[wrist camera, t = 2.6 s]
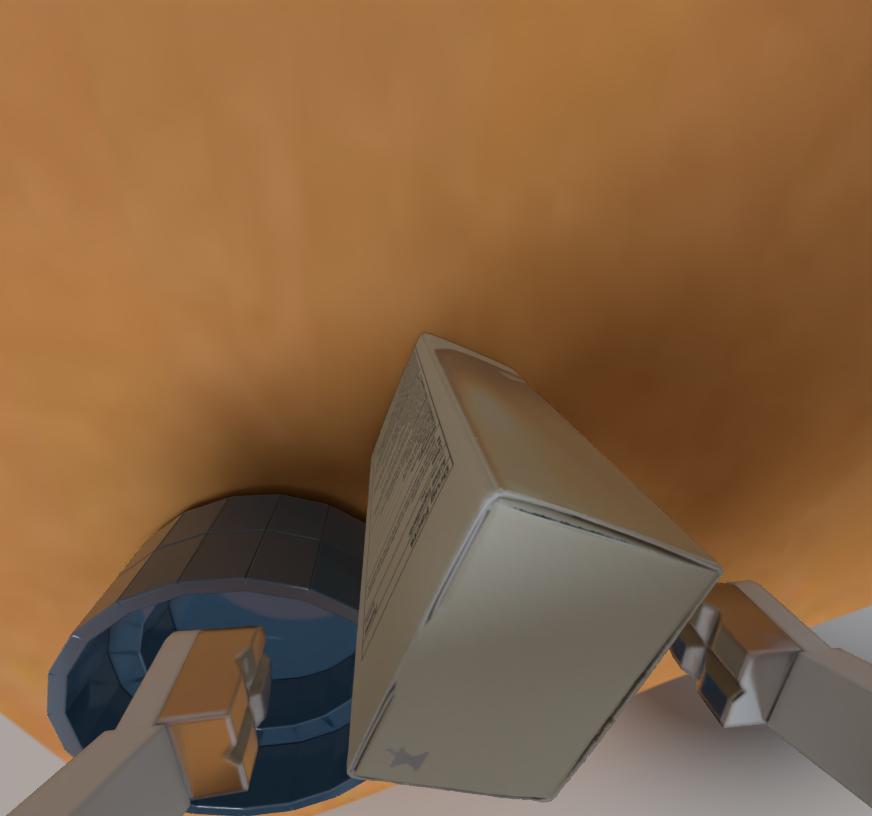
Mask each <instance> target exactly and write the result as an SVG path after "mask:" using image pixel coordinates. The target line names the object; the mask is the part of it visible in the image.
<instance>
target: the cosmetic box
mask: <svg viewBox="0 0 872 816" xmlns="http://www.w3.org/2000/svg"><path fill="white" fill-rule="evenodd" d="M723 572H724V571H723V568H722V567H721V566H720V565H719V564H718V563H717V562H716V561H715V560H714V559H713V558H712V557H711V556H710V555H709V554H708V553H707V552H706V551H705V550H704V549H703V548H702V547H701V546H699V545H698V544H697V543H696V542H695V541H694V540H693V539H692V538H691V537H690V536H689V535H688V534H686V533H685V532H684V531H683V530H682V529H681V528H680V527H679V526H678V525H677V524H676V523H675V522H674V521H673V520H672V519H671V518H670V517H669V516H667V515H666V514H665V513H664V512H663V511H662V510H661V509H660V508H659V507H658V506H657V505H656V504H655V503H654V502H653V501H651V500H650V499H649V498H648V497H647V496H646V495H645V494H644V493H643V492H642V491H641V490H640V489H639V488H638V487H637V486H636V485H635V484H634V483H633V482H632V481H631V480H630V479H628V478H627V477H626V476H625V475H624V474H623V473H622V472H621V471H620V470H619V469H618V468H617V467H616V466H615V465H614V464H613V463H612V462H611V461H609V460H608V459H607V458H606V457H605V456H604V455H603V454H602V453H601V452H600V451H599V450H598V449H597V448H596V447H595V446H593V445H592V444H591V443H590V442H589V441H588V440H587V439H586V438H585V437H584V436H583V435H582V434H581V433H580V432H579V431H578V430H577V429H576V428H575V427H573V426H572V425H571V424H570V423H569V422H568V421H567V420H566V419H565V418H564V417H563V416H562V415H561V414H560V413H559V412H558V411H556V410H555V409H554V408H553V407H552V406H551V405H550V404H549V403H548V402H547V401H546V400H545V399H544V398H542V397H541V396H540V395H539V394H538V393H537V392H536V391H535V390H534V389H533V388H532V387H531V386H530V385H529V384H528V383H527V382H526V381H525V380H524V379H522V378H521V377H520V376H519V375H518V374H517V373H516V372H515V371H514V370H513V369H511V368H510V367H508V366H505V365H503V364H501V363H499V362H496V361H494V360H492V359H490V358H488V357H485V356H483V355H480V354H478V353H476V352H474V351H471V350H469V349H467V348H464V347H462V346H459V345H457V344H454V343H452V342H449V341H447V340H444V339H442V338H439V337H437V336H434V335H432V334H429V333H423V334H421V335H420V337H419V339H418V341H417V343H416V345H415V348H414V350H413V352H412V354H411V357H410V359H409V361H408V364H407V366H406V368H405V371H404V373H403V375H402V378H401V380H400V383H399V385H398V388H397V390H396V393H395V395H394V398H393V400H392V403H391V405H390V408H389V410H388V413H387V415H386V418H385V421H384V423H383V426H382V429H381V431H380V434H379V437H378V440H377V442H376V445H375V448H374V451H373V454H372V457H371V466H370V479H369V493H368V506H367V518H366V531H365V544H364V557H363V569H362V581H361V592H360V606H359V618H358V630H357V642H356V654H355V668H354V681H353V694H352V706H351V720H350V734H349V748H348V757H347V774H348V775H349V776H350V777H351V778H356V779H361V780H372V781H385V782H392V783H397V784H403V785H410V786H418V787H427V788H434V789H441V790H447V791H451V790H452V791H456V792H463V793H471V794H479V795H487V796H494V797H499V798H510V799H522V800H534V801H539V802H549V801H552V800H553V799H554V798H555V797H556V796H557V795H558V793H559V792H560V791H561V789H562V788H563V787H564V785H565V784H566V783H567V782H568V781H569V780H570V779H571V777H572V776H573V774H575V772H576V771H577V770H578V768H579V767H580V766H581V764H582V763H584V762H585V760H586V758H587V756H588V755H590V754H591V752H592V751H593V750H594V748H595V747H596V746H597V744H598V743H599V742H600V741H601V739H602V738H603V737H604V735H605V734H606V732H607V731H608V730H609V729H610V727H611V726H612V725H613V724H614V722H615V721H616V719H617V717H618V716H619V715H620V714H621V712H622V711H623V710H624V709H625V707H626V706H627V705H628V704H629V702H630V701H631V700H632V698H633V697H634V695H635V694H636V692H637V691H638V690H639V689H640V687H641V686H642V685H643V684H644V682H645V681H646V679H647V678H648V677H649V675H650V674H651V672H652V671H653V669H655V667H656V665H657V664H658V663H659V662H660V661H661V659H662V657H663V656H664V654H665V653H666V652H667V651H668V649H669V648H670V647H671V645H672V644H673V643H674V641H675V640H676V639H677V637H678V636H679V634H680V633H681V631H682V630H683V628H684V627H685V625H686V624H687V622H688V621H689V620H690V619H691V617H692V616H693V615H694V613H695V611H696V610H697V608H698V607H699V605H700V604H701V603H702V602H703V600H704V599H705V598H706V596H707V595H708V593H709V592H710V591H711V589H712V588H713V586H714V585H715V584H716V582H717V581H718V580H719V579H720V577H721V576H722V574H723Z"/></svg>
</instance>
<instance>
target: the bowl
mask: <svg viewBox="0 0 872 816" xmlns="http://www.w3.org/2000/svg"><path fill="white" fill-rule="evenodd" d="M365 531H366V523H364V522H362V521H360V520H358V519H356V518H354V517H352V516H350V515H348V514H347V513H345V512H343V511H341V510H339V509H337V508H335V507H333V506H331V505H330V506H329V504H325V503H321V502H316V501H311V500H307V499H302V498H297V497H293V496H288V495H281V494H268V495H247V496H231V497H228V498H225V499H222V500H219V501H216V502H213V503H210V504H207V505H204V506H201V507H198V508H195V509H192V510H189V511H186V512H185V513H182V514H181V515H179V516H178V517H177V518H175V519H174V520H173V521H171V522H170V523H169V524H167V525H166V526H164V527H163V528H162V529H160V530H159V531H158V532H156V533H155V534H154V535H152V536H151V537H150V538H149V539H148V540H147V541H146V542H145V544H144V545H143V546H142V547H141V549H140V550H139V551H138V552H137V554H136V555H135V556H134V557H133V558H132V560H131V561H130V562H129V563H128V565H127V566H126V567H125V568H124V570H123V571H122V572H121V573H120V575H119V576H118V577H117V578H116V580H115V581H114V582H113V583H112V584H111V586H110V587H109V588H108V589H107V591H106V592H105V593H104V594H103V595H102V597H101V598H100V599H99V600H98V602H97V603H96V604H95V605H94V607H93V608H92V609H91V610H90V612H89V613H88V614H87V615H86V616H85V618H84V619H83V620H82V621H81V623H80V624H79V625H78V626H77V628H76V629H75V630H74V631H73V633H72V634H71V635H70V637H69V639H68V640H67V642H66V644H65V645H64V647H63V649H62V650H61V652H60V654H59V655H58V657H57V659H56V660H55V662H54V664H53V665H52V667H51V669H50V670H49V673H48V696H47V713H48V714H47V715H48V717H49V719H50V721H51V723H52V725H53V727H54V729H55V731H56V733H57V735H58V737H59V739H60V741H61V743H62V745H63V747H64V749H65V750H67V752H68V753H69V754H70V755H71V756H72V757H75V756H76V755H78V754H79V753H80V752H81V751H82V750H83V749H85V748H86V747H87V746H88V745H89V744H90V743H91V742H93V741H94V740H95V739H96V738H97V737H98V736H100V735H101V734H102V733H103V732H104V731H109V730H115V729H116V727H117V725H118V724H119V722H120V720H121V718H122V716H123V715H124V713H125V711H126V709H127V707H128V706H129V704H130V702H131V700H132V698H133V697H134V695H135V693H136V691H137V689H138V688H139V686H140V684H141V682H142V680H143V679H144V677H145V675H146V673H147V671H148V670H149V668H150V666H151V664H152V662H153V661H154V659H155V657H156V655H157V653H158V652H159V650H160V648H161V646H162V644H163V643H164V641H165V640H166V639H167V638H168V637H169V636H170V635H171V634H172V633H173V632H175V631H190V630H203V629H213V628H229V627H245V626H264V629H265V633H266V638H267V641H266V645H265V648H264V653H265V654H266V655H268V656H269V657H270V659H271V665H272V687H271V696H270V702H269V706H268V711H267V715H266V718H265V719H264V720H263V721H262V722H261V723H260V725H259V726H258V727H257V728H256V732H257V737H258V742H259V748H258V752H257V756H256V760H255V764H254V768H253V771H252V775H251V779H250V783H249V787H248V791H246V792H240V793H234V794H228V795H222V796H216V797H210V798H204V799H198V800H192V801H190V802H191V805H190V807H189V808H188V809H187V811H186V812H187V813H191V814H192V813H194V814H208V815H226V816H243V815H244V816H252V815H260V814H268V813H277V812H285V811H292V810H296V809H300V808H303V807H306V806H309V805H312V804H316V803H319V802H322V801H325V800H328V799H332V798H335V797H337V796H339V795H341V794H343V793H345V792H347V791H348V790H350V789H352V788H354V787H355V786H357V785H359V784H361V783H362V782H364V781H366V780H361V779H356V778H351V777H350V776H349V775H348V774H347V757H348V748H349V734H350V720H351V706H352V694H353V681H354V668H355V654H356V642H357V630H358V618H359V606H360V592H361V581H362V569H363V557H364V544H365Z"/></svg>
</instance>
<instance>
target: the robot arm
mask: <svg viewBox="0 0 872 816" xmlns="http://www.w3.org/2000/svg"><path fill="white" fill-rule="evenodd" d="M266 641H267V638H266V633H265V629H264V626H245V627H229V628H213V629H203V630H190V631H175V632H173V633H172V634H171V635H170V636H169V637H168V638H167V639H166V640H165V641H164V643H163V644H162V646H161V648H160V650H159V652H158V653H157V655H156V657H155V659H154V661H153V662H152V664H151V666H150V668H149V670H148V671H147V673H146V675H145V677H144V679H143V680H142V682H141V684H140V686H139V688H138V689H137V691H136V693H135V695H134V697H133V698H132V700H131V702H130V704H129V706H128V707H127V709H126V711H125V713H124V715H123V716H122V718H121V720H120V722H119V724H118V725H117V727H116V729H115V730H109V731H104V732H103V733H102V734H101V735H100V736H98V737H97V738H96V739H95V740H94V741H93V742H91V743H90V744H89V745H88V746H87V747H86V748H85V749H83V750H82V751H81V752H80V753H79V754H78V755H76V756H75V757H74V758H73V759H72V760H71V761H69V762H68V763H67V764H66V765H65V766H64V767H63V768H61V769H60V770H59V771H58V772H57V773H55V774H54V775H53V776H52V777H51V778H50V779H48V780H47V781H46V782H45V783H44V784H43V785H41V786H40V787H39V788H38V789H37V790H36V791H34V792H33V793H32V794H31V795H30V796H29V797H27V798H26V799H25V800H24V801H23V802H22V803H20V804H19V805H18V806H17V807H16V808H15V809H13V810H12V811H11V812H10V813H9V814H8V815H6V816H183V815H184V813H185V812H186V811H187V809H188V808H189V807H190V805H191V802H190V801H192V800H198V799H204V798H210V797H216V796H222V795H228V794H234V793H240V792H246V791H248V787H249V783H250V779H251V775H252V771H253V768H254V764H255V760H256V756H257V752H258V748H259V742H258V737H257V732H256V728H257V727H258V726H259V725H260V723H261V722H262V721H263V720H264V719H265V718H266V715H267V711H268V706H269V702H270V696H271V687H272V665H271V659H270V657H269V656H268V655H266V654H265V653H264V648H265V645H266ZM669 649H670V652H671V654H672V656H673V658H674V659H675V661H676V662H677V664H678V665H679V667H680V668H681V669H682V670H683V671H685V672H686V673H688V674H689V675H691V676H692V677H694V678H695V679H697V692H698V693H699V695H700V696H701V698H702V699H703V700H704V702H705V703H706V705H707V706H708V707H709V709H710V710H711V712H712V713H713V714H714V716H715V717H716V719H717V720H718V721H719V723H720V724H721V726H722V727H723V728H727V727H736V726H747V725H757V724H767V727H768V728H769V729H770V730H772V731H773V732H774V733H776V734H777V735H778V736H779V737H781V738H782V739H783V740H785V741H786V742H787V743H788V744H790V745H791V746H792V747H794V748H795V749H796V750H798V751H799V752H800V753H801V754H803V755H804V756H805V757H807V758H808V759H809V760H810V761H812V762H813V763H814V764H816V765H817V766H818V767H819V768H821V769H822V770H823V771H825V772H826V773H827V774H829V775H830V776H831V777H832V778H834V779H835V780H836V781H838V782H839V783H840V784H841V785H843V786H844V787H845V788H847V789H848V790H849V791H850V792H852V793H853V794H854V795H856V796H857V797H858V798H859V799H861V800H862V801H863V802H865V803H866V804H867V805H868V806H870V807H871V808H872V664H871V663H869V662H867V661H865V660H863V659H861V658H859V657H857V656H855V655H853V654H851V653H849V652H847V651H845V650H843V649H841V648H831V647H830V646H829V645H827V644H826V643H825V642H824V641H823V640H822V639H821V638H820V637H818V636H817V635H816V634H815V633H814V632H813V631H812V630H811V629H809V628H808V627H807V626H806V625H805V624H804V623H803V622H802V621H800V620H799V619H798V618H797V617H796V616H795V615H794V614H793V613H791V612H790V611H789V610H788V609H787V608H786V607H785V606H784V605H782V604H781V603H780V602H779V601H778V600H777V599H776V598H775V597H773V596H772V595H771V594H770V593H769V592H768V591H767V590H766V589H764V588H763V587H762V586H761V585H759V584H758V583H756V582H753V581H751V580H746V581H736V582H727V583H716V584H715V585H714V586H713V588H712V589H711V591H710V592H709V593H708V595H707V596H706V598H705V599H704V600H703V602H702V603H701V604H700V605H699V607H698V608H697V610H696V611H695V613H694V615H693V616H692V617H691V619H690V620H689V621H688V622H687V624H686V625H685V627H684V628H683V630H682V631H681V633H680V634H679V636H678V637H677V639H676V640H675V641H674V643H673V644H672V645H671V647H670V648H669Z"/></svg>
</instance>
